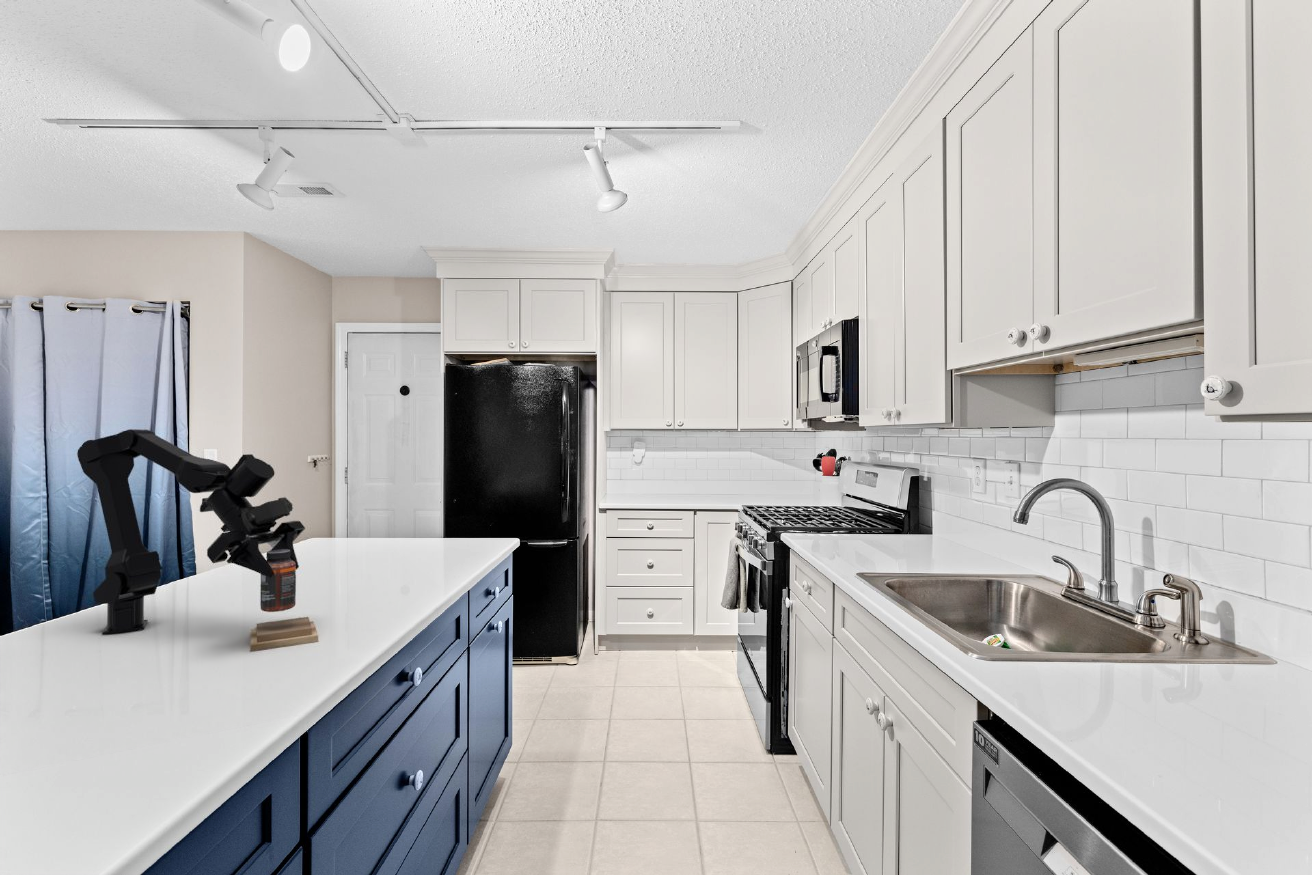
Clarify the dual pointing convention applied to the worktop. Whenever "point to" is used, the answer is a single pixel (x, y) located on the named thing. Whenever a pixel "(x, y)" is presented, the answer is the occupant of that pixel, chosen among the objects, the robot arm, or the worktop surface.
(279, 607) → the supplement bottle
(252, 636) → the wooden stand
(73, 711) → the worktop surface
